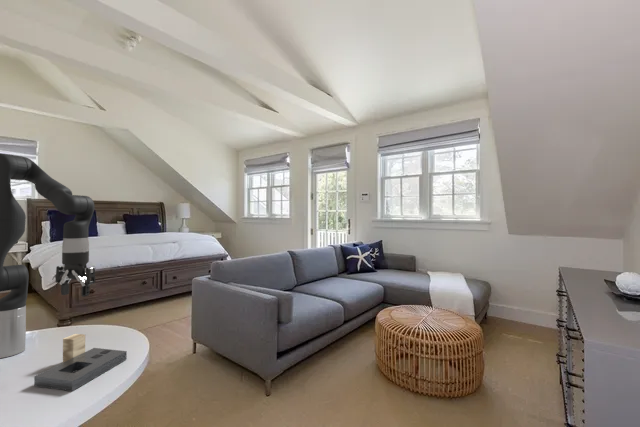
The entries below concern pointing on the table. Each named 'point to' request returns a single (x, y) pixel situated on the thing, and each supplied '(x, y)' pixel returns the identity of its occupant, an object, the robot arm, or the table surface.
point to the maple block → (73, 346)
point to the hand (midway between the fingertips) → (75, 295)
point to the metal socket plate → (80, 369)
